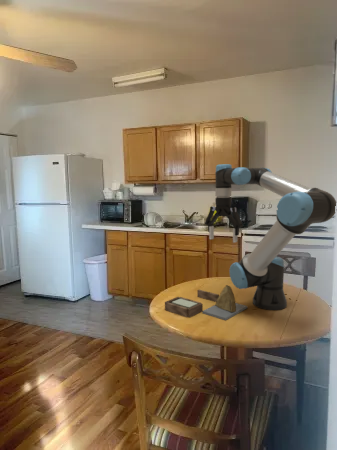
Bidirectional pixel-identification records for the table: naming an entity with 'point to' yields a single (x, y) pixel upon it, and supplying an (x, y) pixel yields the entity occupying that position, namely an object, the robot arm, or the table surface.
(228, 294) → the rock
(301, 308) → the table surface
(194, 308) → the brown frame and bar
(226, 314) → the board
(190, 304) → the pale grey-green block
